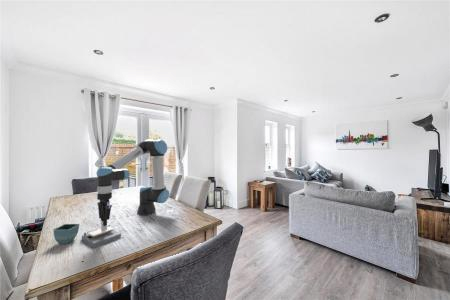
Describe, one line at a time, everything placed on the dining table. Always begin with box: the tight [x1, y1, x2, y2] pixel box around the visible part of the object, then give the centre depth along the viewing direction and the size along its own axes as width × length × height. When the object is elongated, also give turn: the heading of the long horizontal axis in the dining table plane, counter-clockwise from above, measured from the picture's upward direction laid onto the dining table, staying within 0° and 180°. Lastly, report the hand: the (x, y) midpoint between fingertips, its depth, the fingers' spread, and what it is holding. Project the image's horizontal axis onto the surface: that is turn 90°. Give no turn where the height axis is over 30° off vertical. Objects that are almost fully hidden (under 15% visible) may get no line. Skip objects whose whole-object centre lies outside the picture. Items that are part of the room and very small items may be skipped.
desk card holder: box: [81, 224, 122, 249], centre depth 114 cm, size 16×15×5 cm
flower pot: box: [52, 223, 80, 244], centre depth 109 cm, size 9×9×9 cm
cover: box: [86, 225, 115, 236], centre depth 115 cm, size 8×12×1 cm
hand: (103, 230), depth 113 cm, fingers closed
